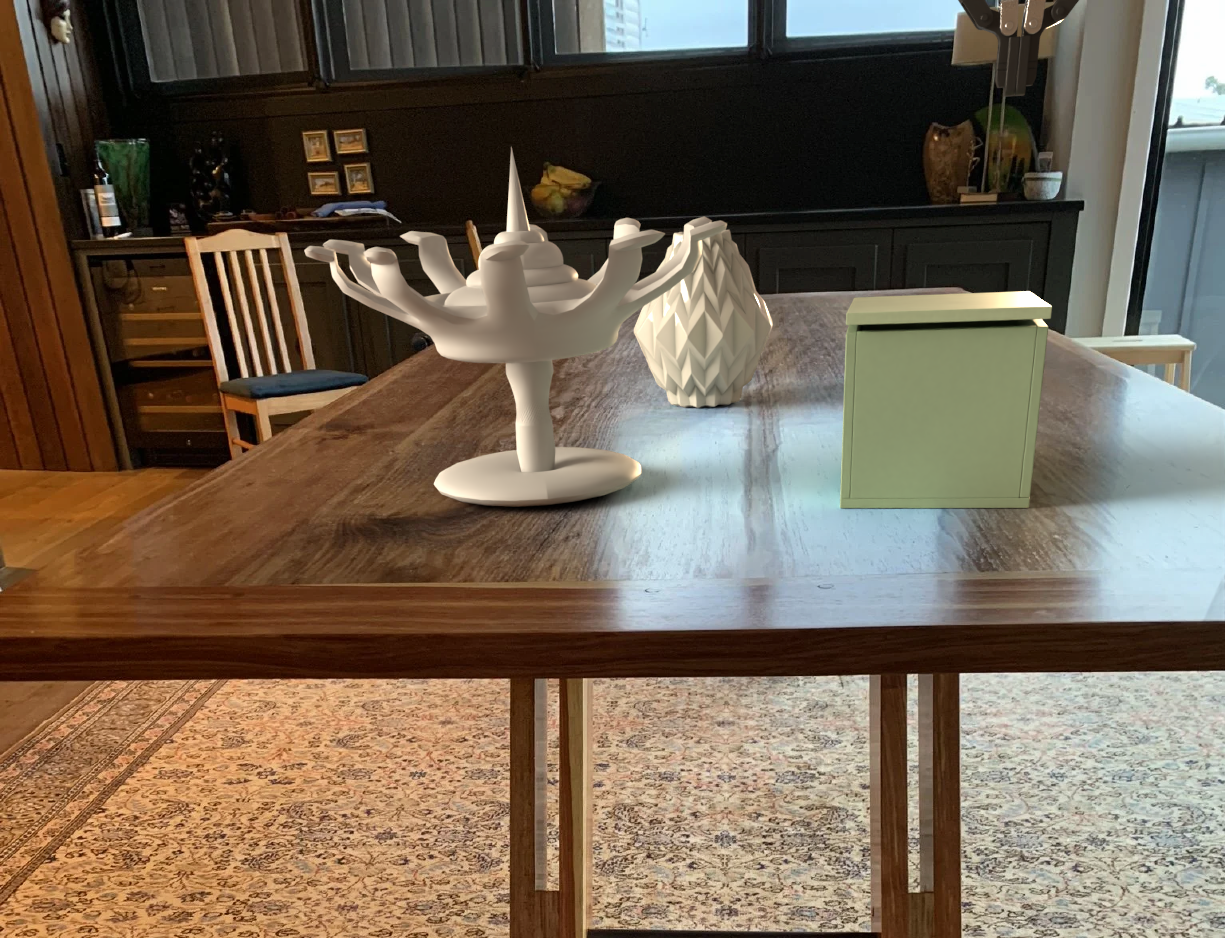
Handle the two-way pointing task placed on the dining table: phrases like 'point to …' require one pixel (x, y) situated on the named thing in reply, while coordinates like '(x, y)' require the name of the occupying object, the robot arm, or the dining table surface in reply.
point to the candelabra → (522, 337)
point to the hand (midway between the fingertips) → (1013, 95)
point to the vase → (706, 328)
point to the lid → (947, 308)
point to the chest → (941, 414)
